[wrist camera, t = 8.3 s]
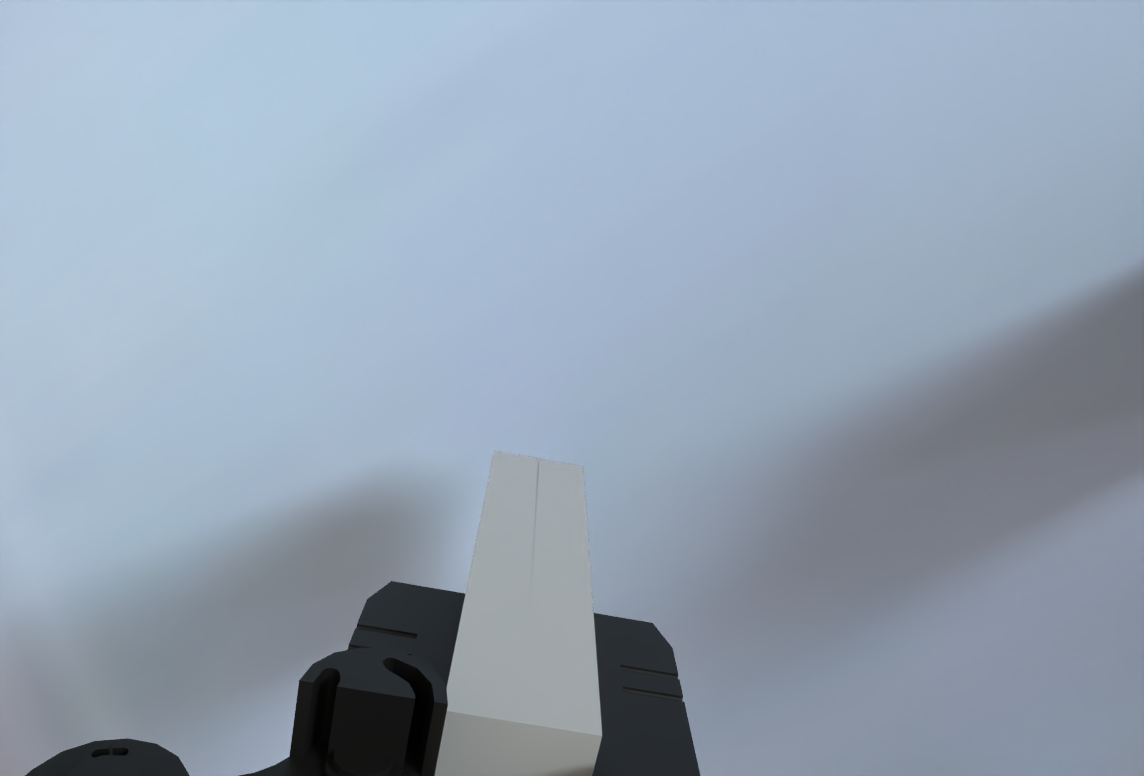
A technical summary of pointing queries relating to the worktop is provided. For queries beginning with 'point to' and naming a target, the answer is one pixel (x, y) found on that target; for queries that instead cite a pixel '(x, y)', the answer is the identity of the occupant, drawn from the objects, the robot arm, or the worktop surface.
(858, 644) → the worktop surface
